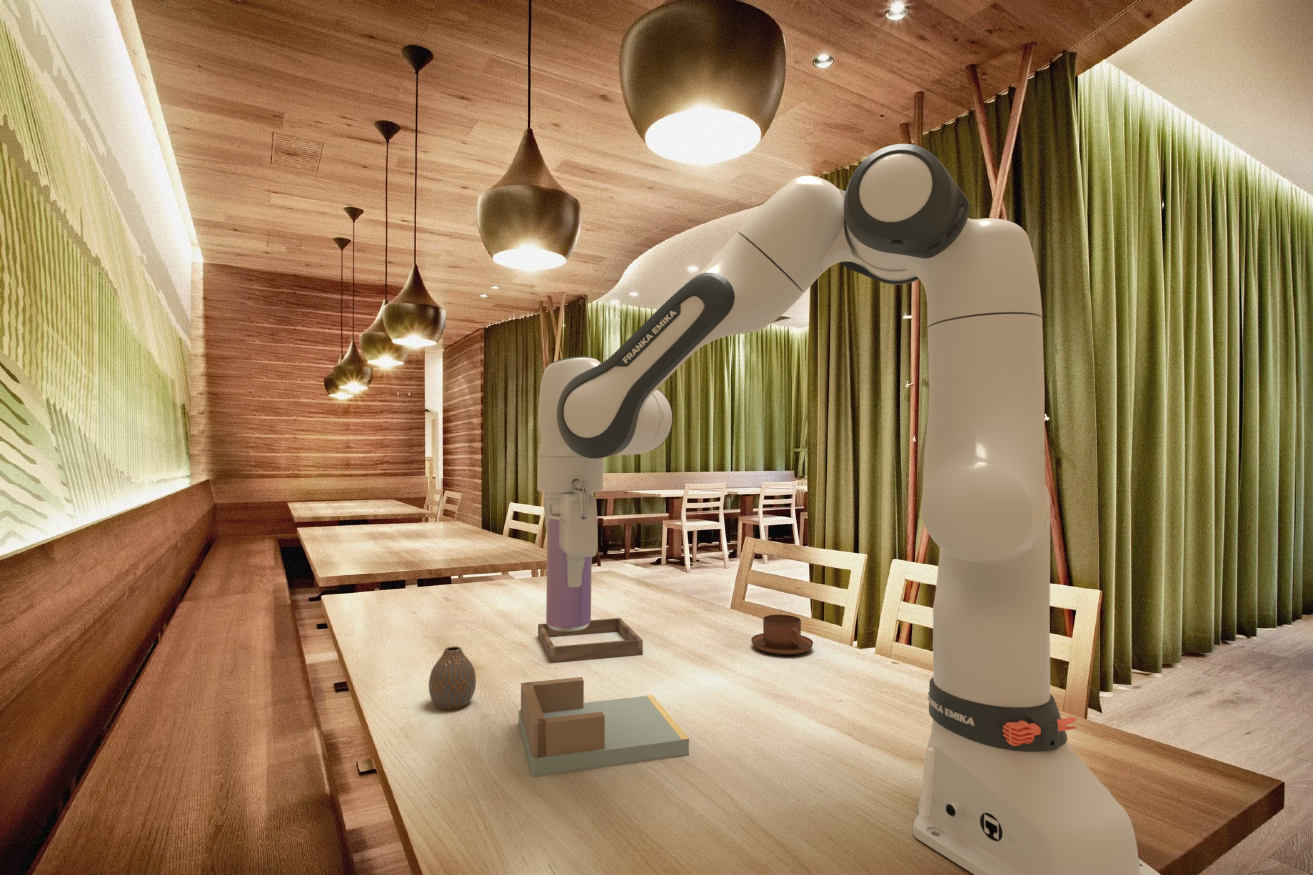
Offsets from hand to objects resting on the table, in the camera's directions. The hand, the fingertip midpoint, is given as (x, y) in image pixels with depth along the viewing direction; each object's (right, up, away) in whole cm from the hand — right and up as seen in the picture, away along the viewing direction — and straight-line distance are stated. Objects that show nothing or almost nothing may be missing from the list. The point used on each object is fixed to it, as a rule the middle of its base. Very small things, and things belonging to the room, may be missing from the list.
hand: (569, 580), depth 89 cm
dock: (+4, -22, +1) cm, 22 cm away
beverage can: (0, -6, 0) cm, 6 cm away
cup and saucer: (+37, -23, +41) cm, 60 cm away
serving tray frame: (-2, -23, +43) cm, 48 cm away
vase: (-19, -22, +12) cm, 32 cm away
